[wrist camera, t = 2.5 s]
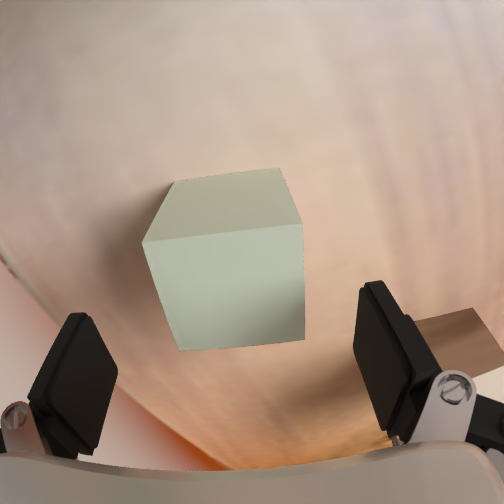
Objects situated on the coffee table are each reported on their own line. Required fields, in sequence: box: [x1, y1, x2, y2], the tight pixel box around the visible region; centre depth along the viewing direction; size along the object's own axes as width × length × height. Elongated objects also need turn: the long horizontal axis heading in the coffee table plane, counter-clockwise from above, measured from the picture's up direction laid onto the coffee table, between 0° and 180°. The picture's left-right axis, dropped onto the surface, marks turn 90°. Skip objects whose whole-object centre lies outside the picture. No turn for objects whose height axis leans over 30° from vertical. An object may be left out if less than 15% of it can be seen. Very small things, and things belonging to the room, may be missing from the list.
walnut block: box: [414, 308, 504, 378], centre depth 19 cm, size 6×6×6 cm
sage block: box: [142, 168, 305, 351], centre depth 14 cm, size 5×5×6 cm
